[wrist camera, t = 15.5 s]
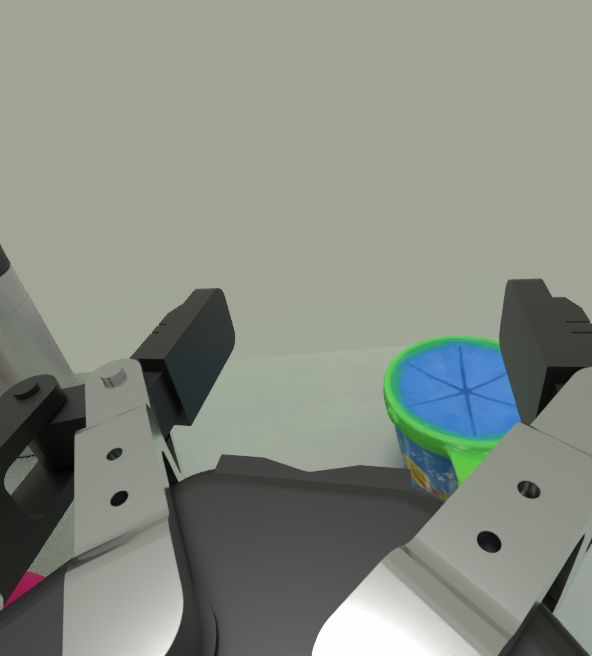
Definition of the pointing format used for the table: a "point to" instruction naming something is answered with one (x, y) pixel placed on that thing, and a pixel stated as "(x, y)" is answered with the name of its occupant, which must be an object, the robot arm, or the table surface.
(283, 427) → the table surface
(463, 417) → the snack cup
